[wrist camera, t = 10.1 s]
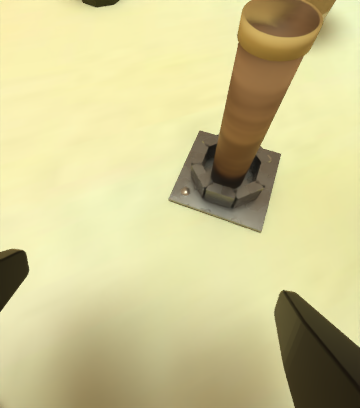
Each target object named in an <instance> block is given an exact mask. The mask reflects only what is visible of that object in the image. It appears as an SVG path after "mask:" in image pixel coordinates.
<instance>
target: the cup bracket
mask: <svg viewBox="0 0 360 408" xmlns="http://www.w3.org/2000/svg"><path fill="white" fill-rule="evenodd" d="M218 138H219V135H214V134H210V133H207V132H203V131H199V133H198V135H197V137H196V140H195V142H194V144H193V146H192V148H191V151H190V153H189V155H188V157H187V159H186V162H185V164H184V166H183V168H182V170H181V173H180V175H179V177H178V179H177V181H176V184H175V186H174V188H173V190H172V192H171V195H170V197H169V201H172V202H175V203H178V204H181V205H183V206H186V207H189V208H192V209H195V210H198V211H201V212H203V213H206V214H209V215H212V216H215V217H218V218H221V219H223V220H226V221H229V222H232V223H235V224H238V225H240V226H243V227H246V228H249V229H252V230H255V231H258V232H261V231H262V228H263V224H264V220H265V216H266V212H267V208H268V204H269V200H270V196H271V192H272V188H273V184H274V180H275V176H276V172H277V168H278V164H279V160H280V156H281V154H280V153H276V152H273V151H269V150H266V149H262V147H261V146H260V147H259V149H258V151H257V153H256V155H255V157H254V159H253V162H252V164H251V166H250V168H249V170H248V172H247V174H246V176H245V178H244V180H243V182H242V184H241V185H240V186H239V187H238V188H236V189H232V188H229V187H226V186H223V185H220V184H217V183H214V182H213V181H212V179H211V171H212V167H213V162H214V157H215V152H216V148H217V143H218Z"/></svg>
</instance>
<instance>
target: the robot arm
mask: <svg viewBox="0 0 360 408" xmlns="http://www.w3.org/2000/svg"><path fill="white" fill-rule="evenodd" d="M28 272H29V266H28V260H27V255H26V252H25V251H23V250H19V249H9V250H6V251H2V252H0V312H1V310H2V309H3V308H4V306H5V305H6V304H7V302H8V301H9V300H10V298H11V297H12V296H13V294H14V293H15V292H16V290H17V289H18V287H19V286H20V285H21V283H22V282H23V281H24V279H25V278H26V277H27V275H28ZM274 316H275V322H276V327H277V333H278V339H279V344H280V350H281V356H282V361H283V366H284V370H285V374H286V378H287V381H288V385H289V388H290V392H291V396H292V399H293V403H294V406H295V408H360V347H358V346H357V345H356V344H355V343H354V342H353V341H351V340H350V339H349V338H348V337H347V336H346V335H344V334H343V333H342V332H341V331H340V330H339V329H337V328H336V327H335V326H334V325H333V324H332V323H330V322H329V321H328V320H327V319H326V318H325V317H324V316H322V315H321V314H320V313H319V312H318V311H317V310H315V309H314V308H313V307H312V306H311V305H310V304H308V303H307V302H306V301H305V300H304V299H303V298H301V297H300V296H299V295H298V294H297V293H295V292H292V291H285V290H283V291H281V292H280V294H279V297H278V300H277V304H276V307H275V311H274Z"/></svg>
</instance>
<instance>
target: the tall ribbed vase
mask: <svg viewBox="0 0 360 408" xmlns="http://www.w3.org/2000/svg"><path fill="white" fill-rule="evenodd" d="M322 25H323V16H322V14H321V12H320V11H319V10H318V9H317V8H316V7H315V6H314V5H312V4H311V3H309V2H307V1H305V0H251V1H249V2H248V3H247V4H246V5H245V6H244V8H243V10H242V15H241V20H240V25H239V30H238V35H237V37H238V41H239V43H238V48H237V53H236V57H235V62H234V67H233V72H232V76H231V81H230V86H229V91H228V95H227V100H226V105H225V110H224V114H223V119H222V124H221V129H220V133H219V138H218V143H217V148H216V152H215V157H214V162H213V167H212V171H211V179H212V181H213V182H214V183H217V184H220V185H223V186H226V187H229V188H232V189H236V188H238V187H239V186H240V185H241V184H242V182H243V180H244V178H245V176H246V174H247V172H248V170H249V168H250V166H251V164H252V162H253V159H254V157H255V155H256V153H257V151H258V149H259V147H260V145H261V143H262V141H263V139H264V137H265V135H266V133H267V131H268V129H269V127H270V124H271V122H272V120H273V118H274V116H275V114H276V112H277V110H278V108H279V106H280V104H281V102H282V100H283V98H284V96H285V94H286V92H287V89H288V87H289V85H290V83H291V81H292V79H293V77H294V75H295V73H296V71H297V69H298V67H299V65H300V63H301V61H302V59H303V56H304V55H305V54H307V53H308V52H309V50H310V49H311V47H312V45H313V43H314V41H315V39H316V37H317V35H318V33H319V31H320V29H321V27H322Z"/></svg>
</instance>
